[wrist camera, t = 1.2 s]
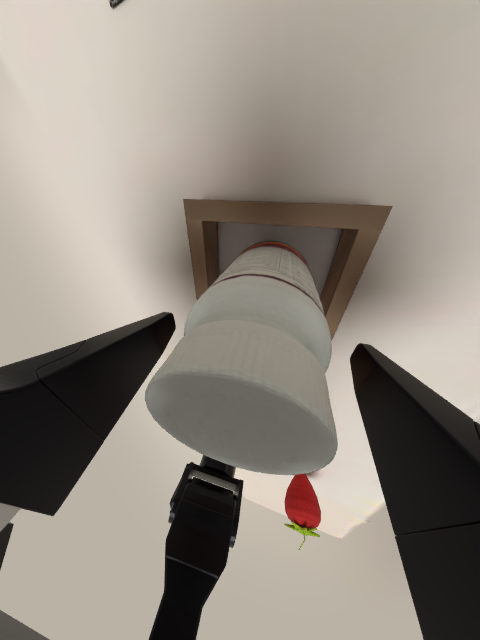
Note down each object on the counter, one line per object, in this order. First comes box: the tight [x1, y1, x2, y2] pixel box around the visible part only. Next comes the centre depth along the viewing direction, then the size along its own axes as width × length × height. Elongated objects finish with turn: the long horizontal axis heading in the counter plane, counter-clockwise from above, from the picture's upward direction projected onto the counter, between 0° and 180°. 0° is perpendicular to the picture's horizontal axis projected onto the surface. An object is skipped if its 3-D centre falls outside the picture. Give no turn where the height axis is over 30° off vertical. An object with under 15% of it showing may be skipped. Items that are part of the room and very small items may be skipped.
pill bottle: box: [145, 242, 338, 475], centre depth 9 cm, size 6×6×11 cm
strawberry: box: [285, 474, 321, 550], centre depth 30 cm, size 6×8×10 cm
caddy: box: [183, 199, 393, 341], centre depth 15 cm, size 20×10×2 cm, turn 178°
